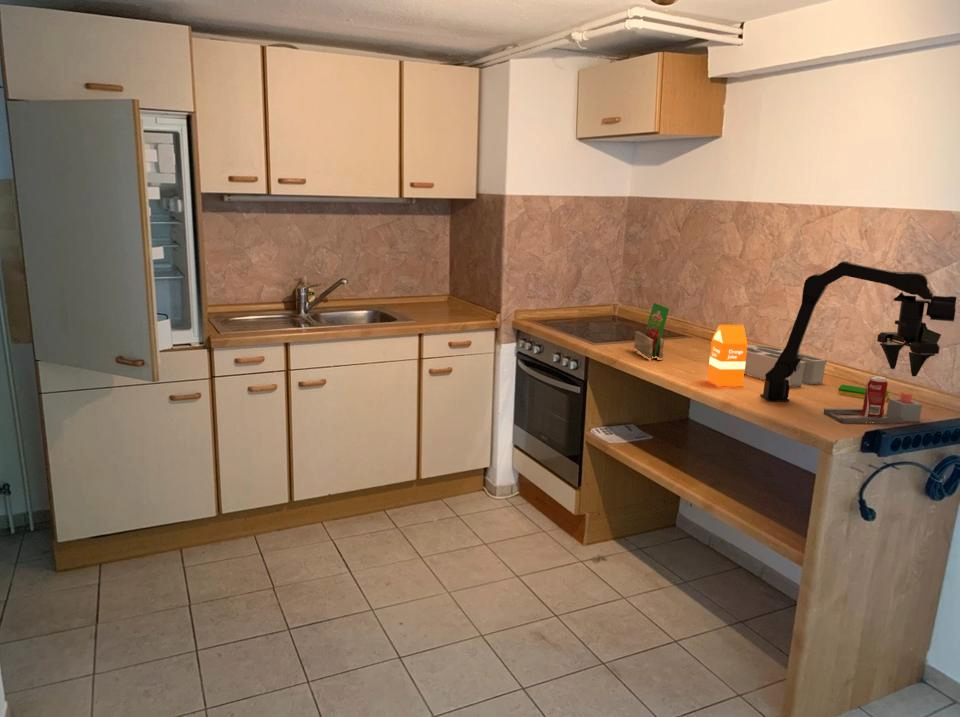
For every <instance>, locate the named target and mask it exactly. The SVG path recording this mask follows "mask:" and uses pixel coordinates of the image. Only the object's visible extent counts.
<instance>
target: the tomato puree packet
mask: <svg viewBox="0 0 960 717" xmlns="http://www.w3.org/2000/svg"><path fill="white" fill-rule="evenodd" d="M669 311H670V308H669V307H666V306H662V305H661V304H658V303H656V302H653V303H652V307H651V310H650V314H649V318H648V321H647V325H646V328H645V331H644V333H643V334H644V335H646V336H647V337H649V338H651V339H653V349H652V356H653V357H655V356H656V353H657V349H658V346H659V343H660V339H662V336H663V333H664V332H663V331H664V330H665V325H666V322H667V317H668V314H669Z"/></svg>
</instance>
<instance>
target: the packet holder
mask: <svg viewBox="0 0 960 717" xmlns="http://www.w3.org/2000/svg"><path fill="white" fill-rule="evenodd" d="M644 334H645V333H642V332H641V331H639V330H637V331H635V333H634V346H633V349H634V348H636V349H637V350H638V351H640V352H641V353H642V354H644V355H645V356H647V357H648V358H652V349H653V339H651V338H649V337H647V336H646V335H644ZM664 346H665V340H664V338H661V339H660V343H659V346H658V349H657V353H656V356H657V357H659V358H662V359H663V356H664Z"/></svg>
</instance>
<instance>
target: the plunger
mask: <svg viewBox="0 0 960 717" xmlns="http://www.w3.org/2000/svg"><path fill="white" fill-rule="evenodd" d="M912 398H913V394H912V393H909V392H901V393H900V398H899V399H900V402H902V403H911V400H912Z"/></svg>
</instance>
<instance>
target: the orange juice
mask: <svg viewBox="0 0 960 717" xmlns="http://www.w3.org/2000/svg"><path fill="white" fill-rule="evenodd" d="M710 344H711V345H710V355H709V360H708V362H709V363H708V365H709V366H708V373H707V381H708V380H709V381H710V382H712V383H714V384H716V385H717V386H743V385H744V379H745V378H744V377H745V375H744V370H745V363H746V354H747V345H749V344H748V340H747V336H746V331H745V327H744V324H718V327H717V329H716V330H715V332H714V335H713V337H712V338H711V343H710ZM710 382H709V383H710ZM717 386H716V387H717Z"/></svg>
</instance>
